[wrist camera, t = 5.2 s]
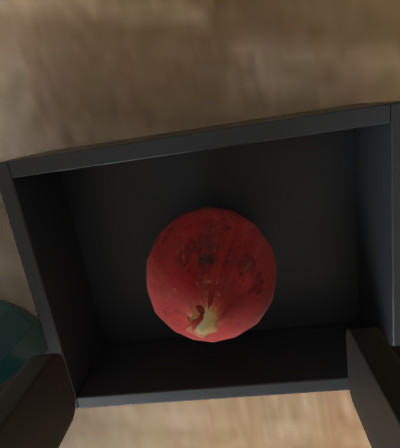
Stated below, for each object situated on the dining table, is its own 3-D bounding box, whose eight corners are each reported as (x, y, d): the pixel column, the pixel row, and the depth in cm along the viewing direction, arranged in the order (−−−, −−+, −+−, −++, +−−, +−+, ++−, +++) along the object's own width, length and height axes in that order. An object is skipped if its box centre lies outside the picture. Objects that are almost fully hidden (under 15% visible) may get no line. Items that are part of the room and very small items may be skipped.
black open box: (99, 349, 24) (65, 409, 19) (47, 151, 20) (-9, 163, 15) (370, 325, 22) (409, 386, 17) (363, 102, 18) (411, 99, 13)
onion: (164, 187, 20) (124, 235, 12) (275, 197, 19) (304, 254, 12) (159, 287, 21) (120, 384, 14) (260, 298, 21) (277, 404, 14)
